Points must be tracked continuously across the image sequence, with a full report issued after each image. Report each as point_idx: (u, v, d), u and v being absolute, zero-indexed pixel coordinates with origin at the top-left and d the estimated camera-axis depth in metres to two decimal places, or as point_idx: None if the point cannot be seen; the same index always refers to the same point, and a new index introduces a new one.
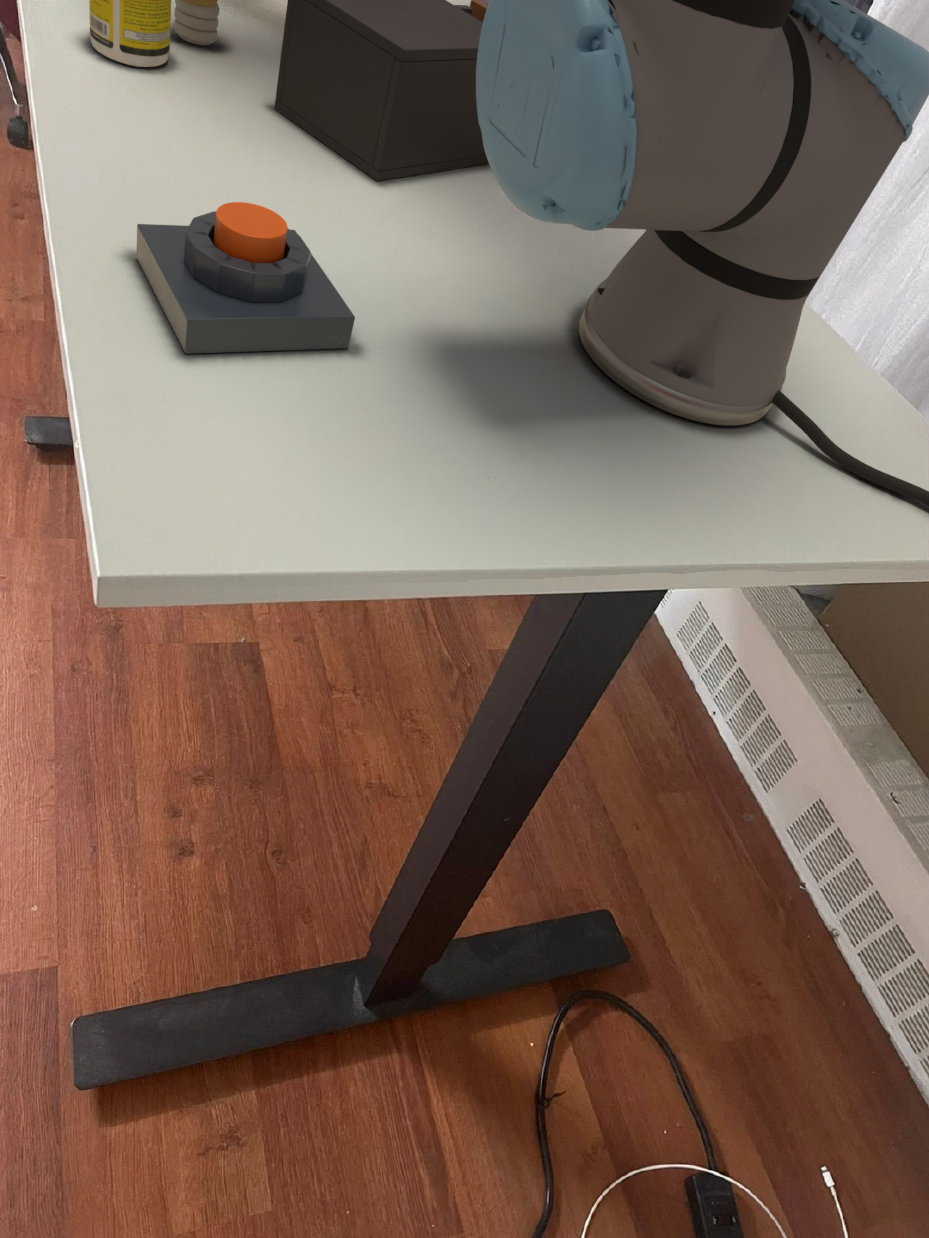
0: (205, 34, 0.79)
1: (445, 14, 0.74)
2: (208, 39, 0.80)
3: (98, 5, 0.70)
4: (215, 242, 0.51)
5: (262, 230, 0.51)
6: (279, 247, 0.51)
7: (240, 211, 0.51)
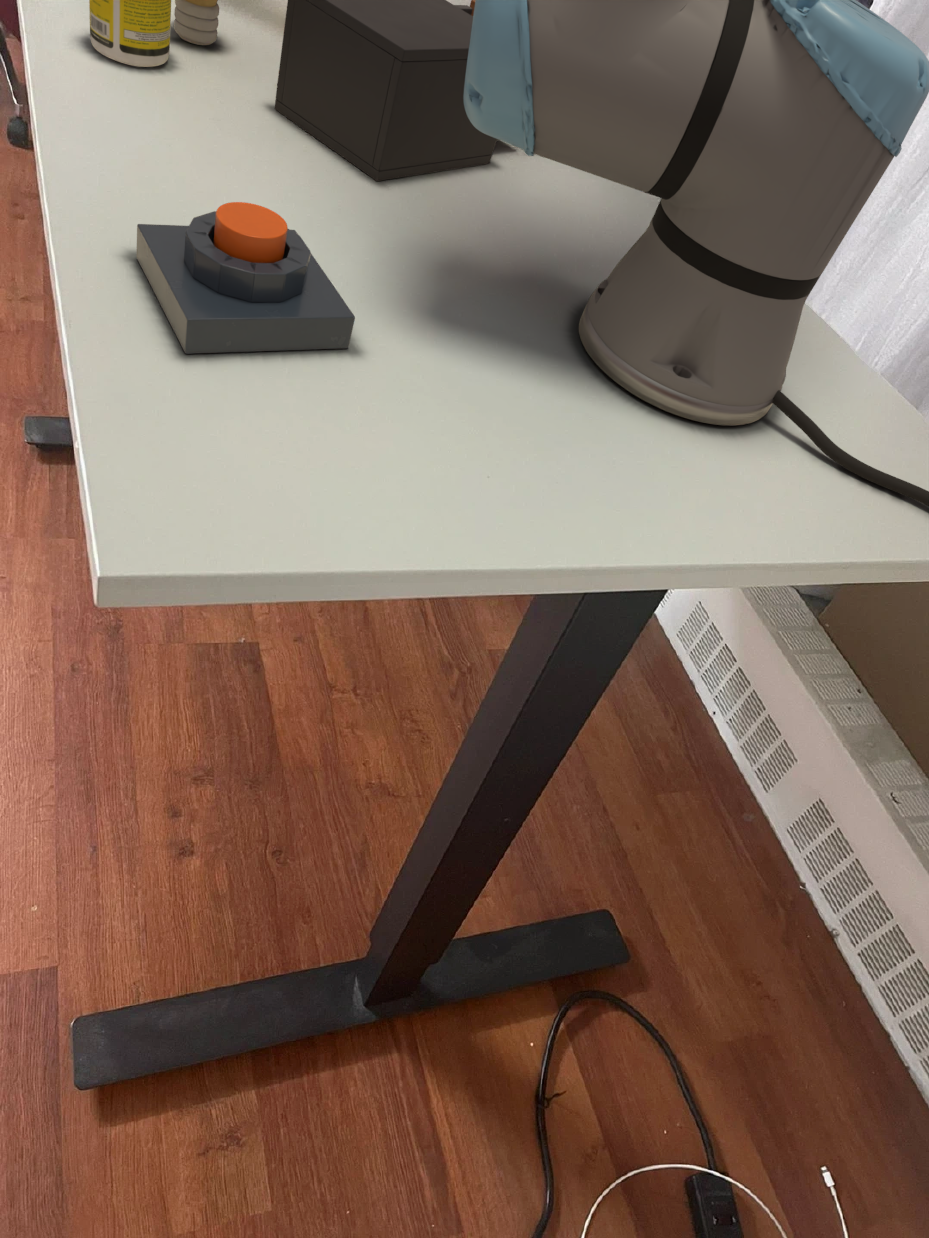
0: (205, 34, 0.79)
1: (445, 14, 0.74)
2: (208, 39, 0.80)
3: (98, 5, 0.70)
4: (215, 242, 0.51)
5: (262, 230, 0.51)
6: (279, 247, 0.51)
7: (240, 211, 0.51)
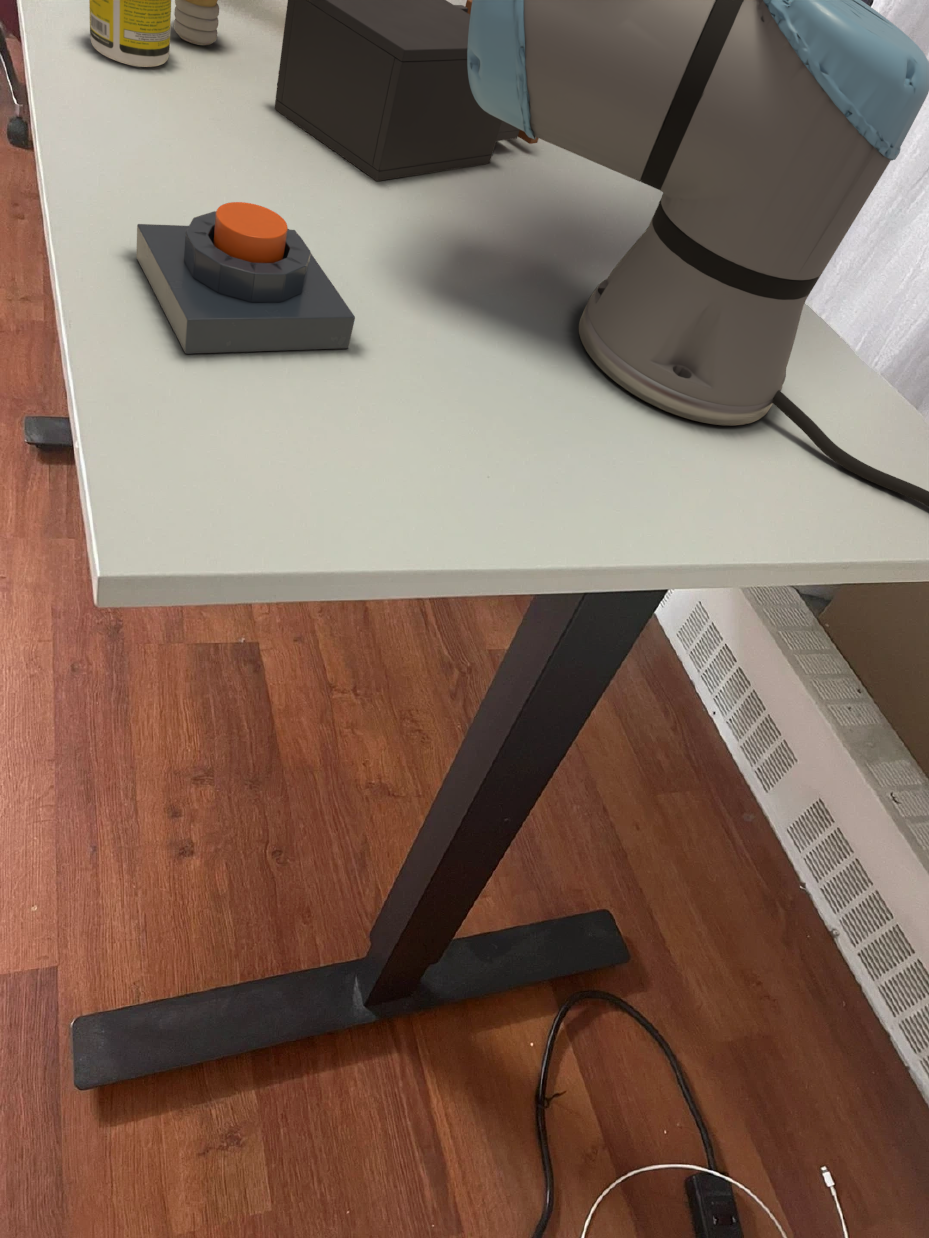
0: (205, 34, 0.79)
1: (445, 14, 0.74)
2: (208, 39, 0.80)
3: (98, 5, 0.70)
4: (215, 242, 0.51)
5: (262, 230, 0.51)
6: (279, 247, 0.51)
7: (240, 211, 0.51)
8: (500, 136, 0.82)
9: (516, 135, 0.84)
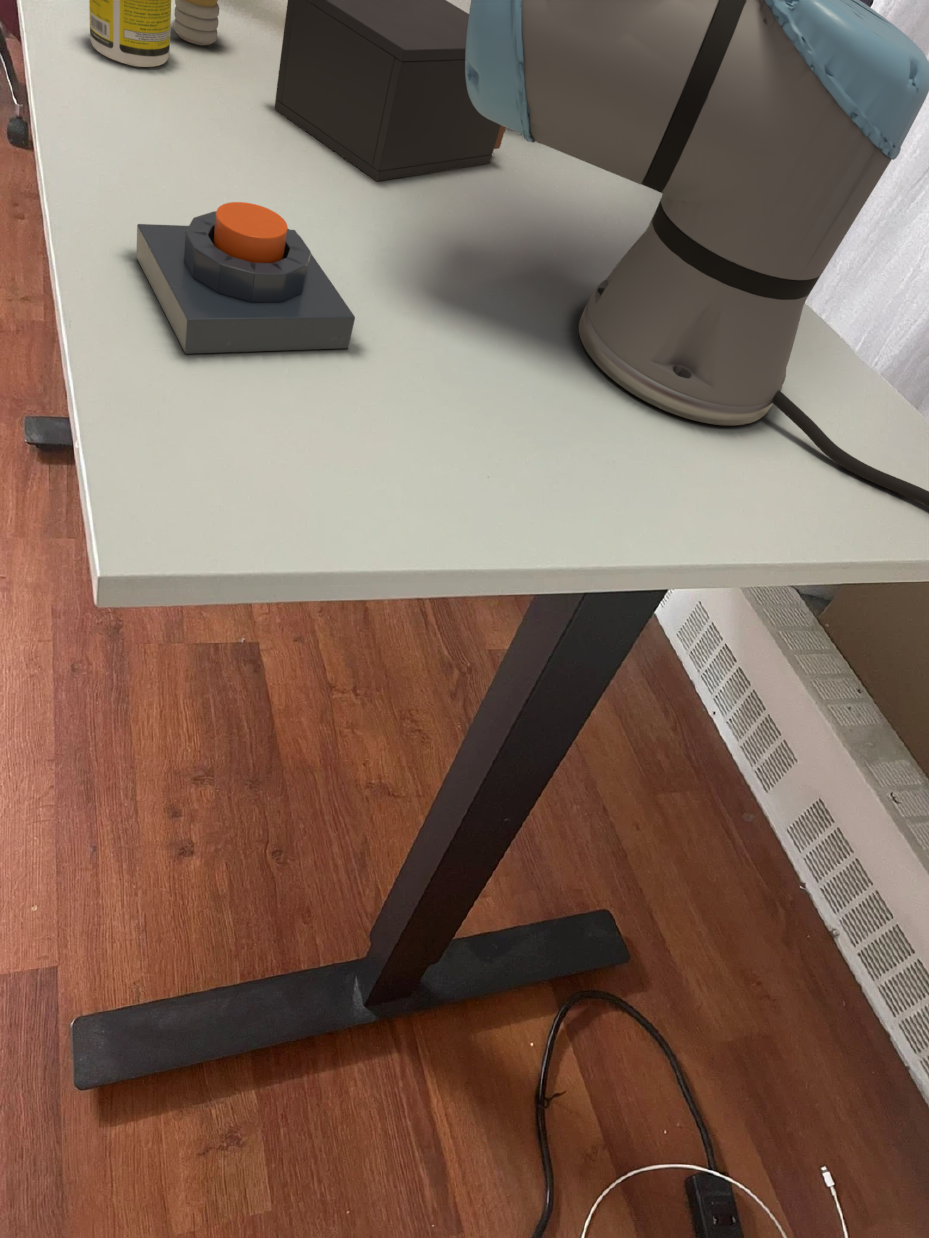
0: (205, 34, 0.79)
1: (445, 14, 0.74)
2: (208, 39, 0.80)
3: (98, 5, 0.70)
4: (215, 242, 0.51)
5: (262, 230, 0.51)
6: (279, 247, 0.51)
7: (240, 211, 0.51)
8: None
9: None
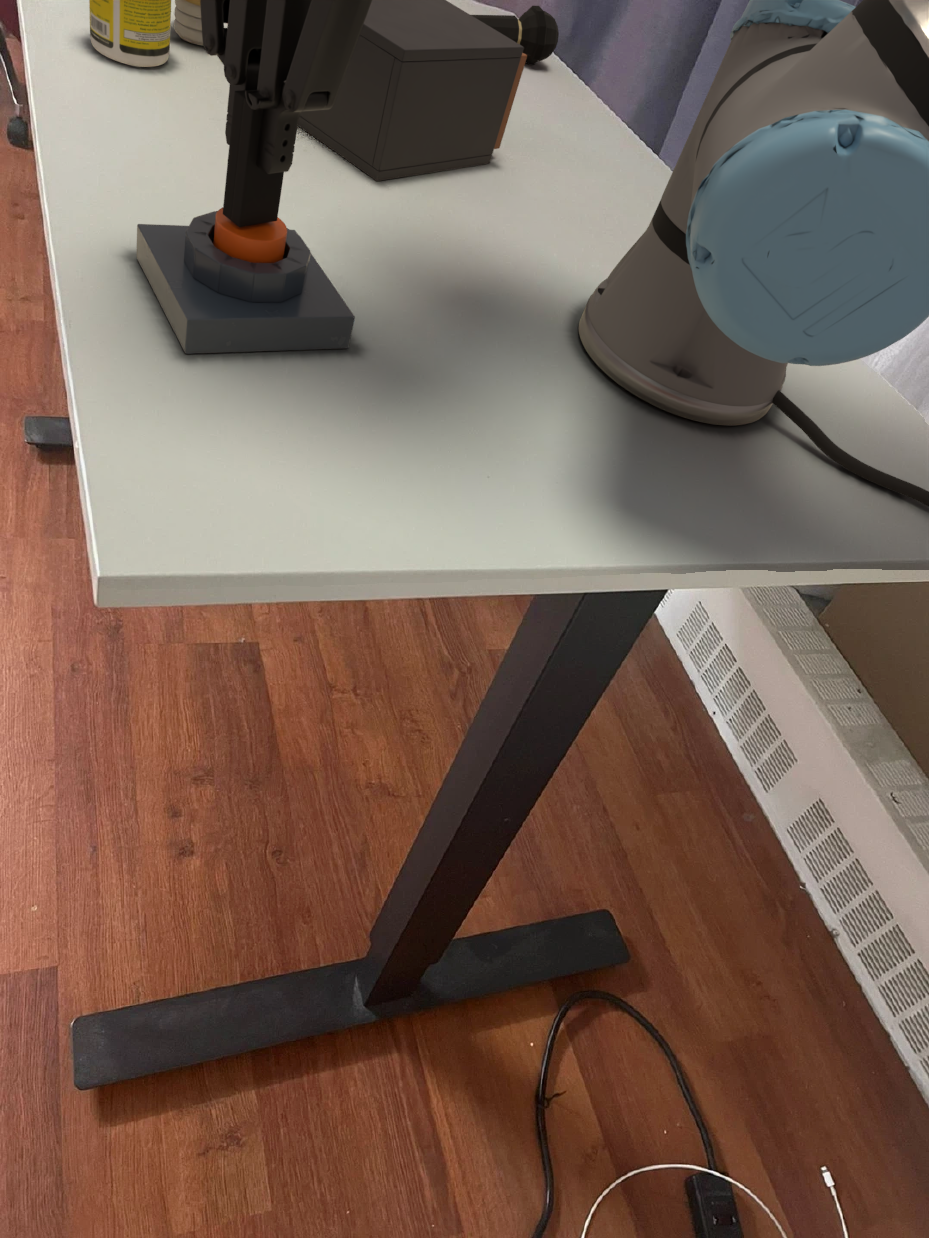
0: None
1: (445, 14, 0.74)
2: None
3: (98, 5, 0.70)
4: (215, 245, 0.51)
5: (262, 233, 0.51)
6: (278, 250, 0.52)
7: None
8: None
9: None
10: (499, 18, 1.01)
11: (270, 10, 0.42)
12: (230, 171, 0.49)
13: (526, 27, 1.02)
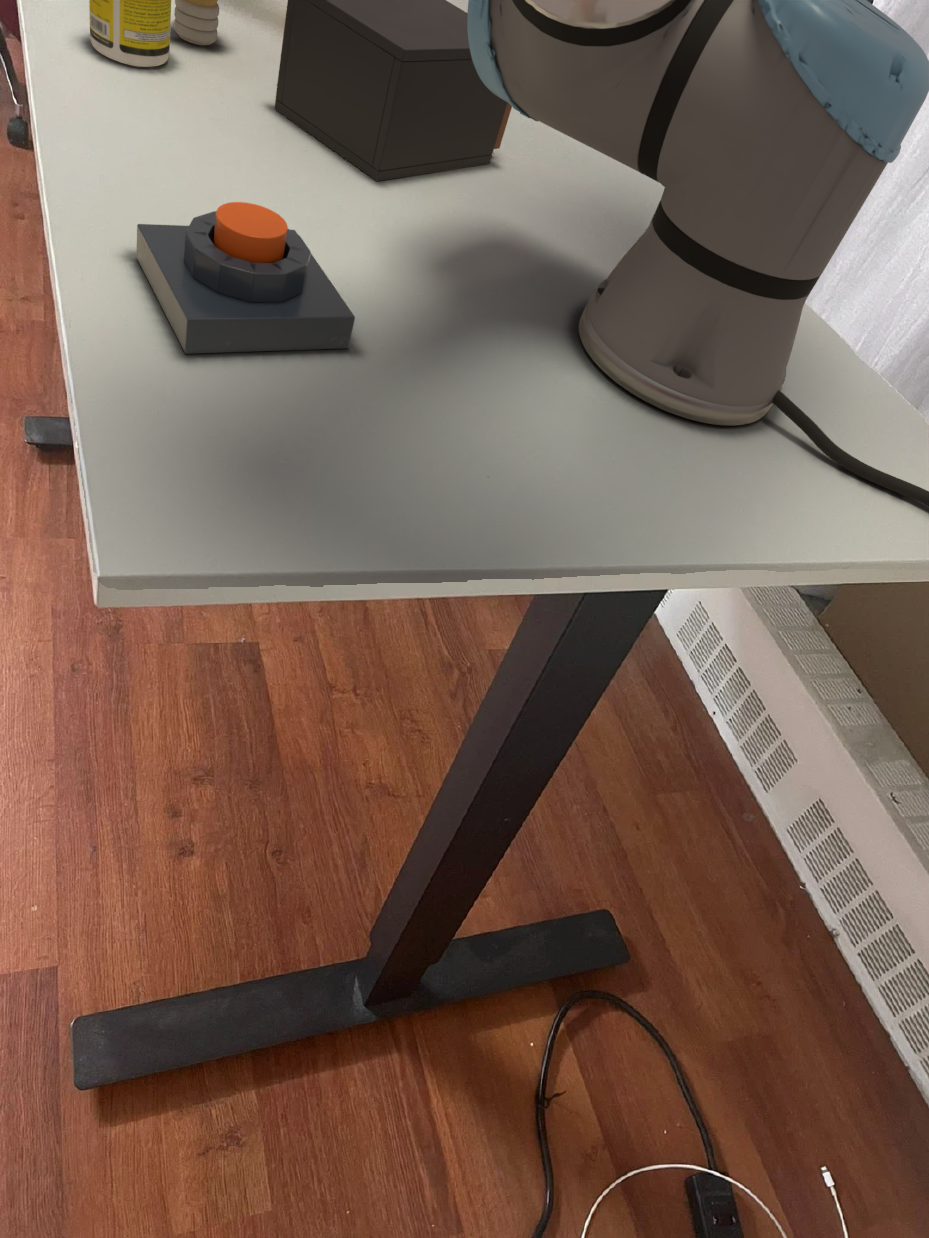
0: (205, 34, 0.79)
1: (445, 14, 0.74)
2: (208, 39, 0.80)
3: (98, 5, 0.70)
4: (215, 242, 0.51)
5: (262, 230, 0.51)
6: (279, 247, 0.51)
7: (240, 211, 0.51)
8: None
9: None
10: None
11: None
12: None
13: None
